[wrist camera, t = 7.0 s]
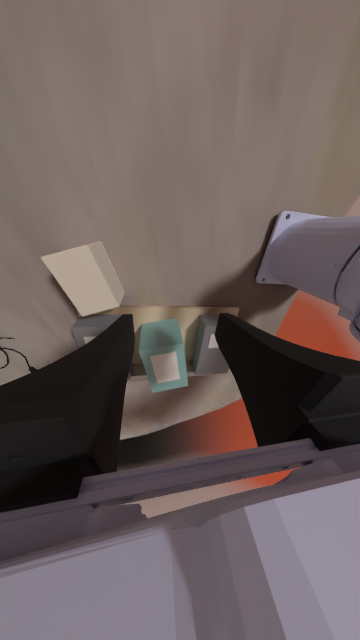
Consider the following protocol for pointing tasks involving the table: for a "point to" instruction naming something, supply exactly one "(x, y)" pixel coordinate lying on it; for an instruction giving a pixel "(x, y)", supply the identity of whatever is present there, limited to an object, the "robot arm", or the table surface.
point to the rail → (140, 374)
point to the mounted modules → (204, 352)
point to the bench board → (184, 315)
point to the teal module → (163, 355)
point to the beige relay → (87, 277)
